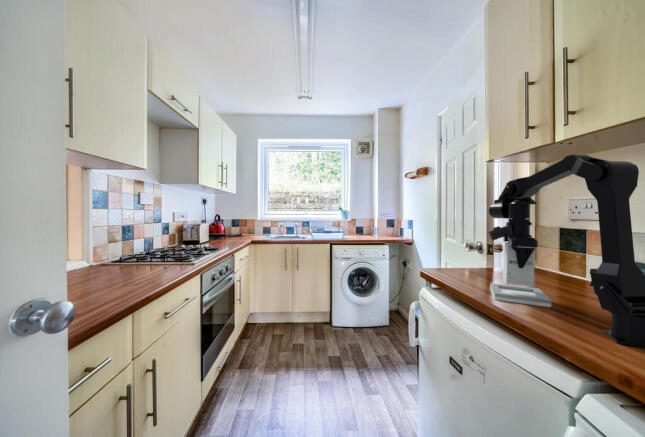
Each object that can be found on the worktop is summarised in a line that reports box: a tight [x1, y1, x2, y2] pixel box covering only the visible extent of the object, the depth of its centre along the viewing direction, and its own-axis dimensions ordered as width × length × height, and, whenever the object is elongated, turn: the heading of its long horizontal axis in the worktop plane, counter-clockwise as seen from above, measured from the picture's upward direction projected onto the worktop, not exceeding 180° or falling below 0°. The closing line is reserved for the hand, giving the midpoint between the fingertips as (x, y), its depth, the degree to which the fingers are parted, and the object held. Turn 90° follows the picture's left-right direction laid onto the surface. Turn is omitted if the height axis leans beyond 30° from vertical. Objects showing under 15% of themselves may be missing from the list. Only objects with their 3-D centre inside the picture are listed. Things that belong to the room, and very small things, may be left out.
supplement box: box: [502, 243, 536, 288], centre depth 86 cm, size 7×7×13 cm
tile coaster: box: [489, 282, 552, 308], centre depth 86 cm, size 14×14×2 cm
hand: (518, 266), depth 86 cm, fingers closed on supplement box, 7 cm apart
